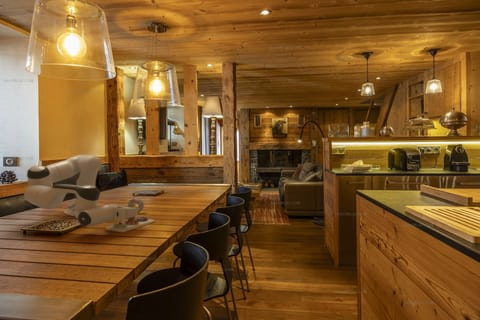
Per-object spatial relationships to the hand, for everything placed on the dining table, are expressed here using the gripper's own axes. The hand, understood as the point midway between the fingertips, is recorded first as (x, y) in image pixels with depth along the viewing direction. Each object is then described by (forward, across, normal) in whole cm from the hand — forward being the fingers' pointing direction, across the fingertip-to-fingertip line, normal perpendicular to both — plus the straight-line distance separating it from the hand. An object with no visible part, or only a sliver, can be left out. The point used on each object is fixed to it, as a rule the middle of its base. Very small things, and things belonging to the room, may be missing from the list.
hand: (131, 208), depth 164 cm
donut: (+25, -22, -10) cm, 35 cm away
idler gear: (0, 0, -9) cm, 9 cm away
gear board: (0, 0, -10) cm, 10 cm away
